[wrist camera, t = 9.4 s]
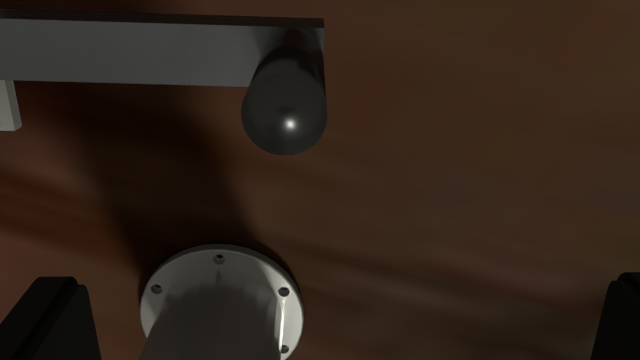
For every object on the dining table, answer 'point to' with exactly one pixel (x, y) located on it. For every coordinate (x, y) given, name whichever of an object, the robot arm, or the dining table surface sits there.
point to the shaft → (183, 61)
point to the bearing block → (9, 107)
